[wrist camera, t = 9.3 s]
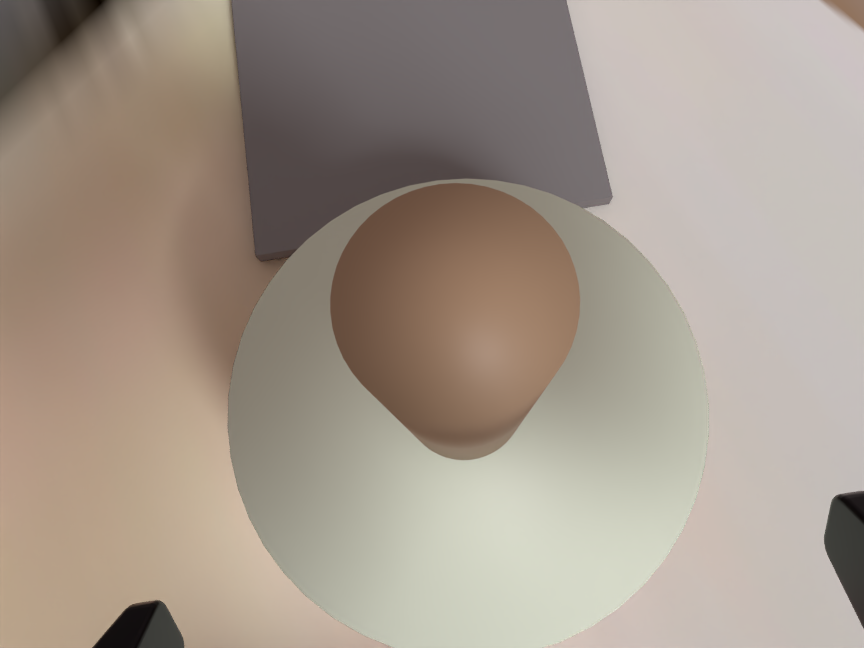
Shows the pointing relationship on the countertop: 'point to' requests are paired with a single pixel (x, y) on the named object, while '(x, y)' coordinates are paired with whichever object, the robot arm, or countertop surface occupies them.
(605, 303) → the lid
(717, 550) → the countertop surface
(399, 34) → the mat
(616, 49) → the countertop surface
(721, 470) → the countertop surface
